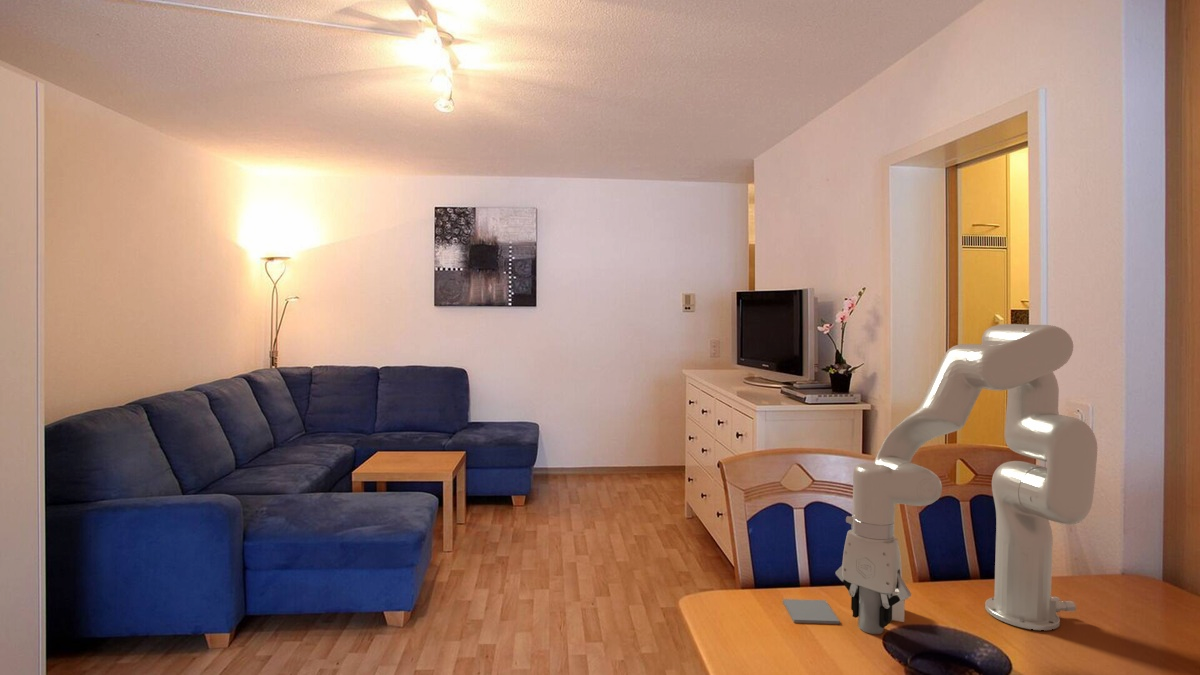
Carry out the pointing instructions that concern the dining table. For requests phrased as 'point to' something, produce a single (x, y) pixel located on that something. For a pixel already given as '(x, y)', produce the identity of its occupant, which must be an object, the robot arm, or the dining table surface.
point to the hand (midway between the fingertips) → (871, 619)
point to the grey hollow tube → (869, 611)
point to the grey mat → (810, 611)
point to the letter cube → (898, 609)
